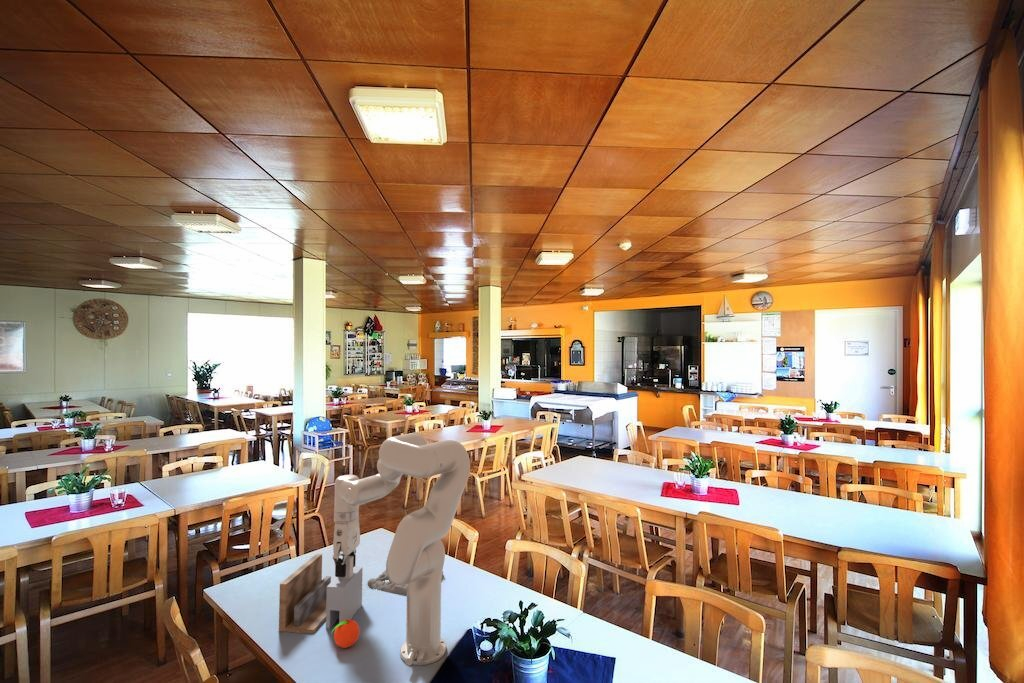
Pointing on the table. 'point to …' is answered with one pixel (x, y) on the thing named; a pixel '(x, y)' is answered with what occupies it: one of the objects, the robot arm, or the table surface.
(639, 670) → the table surface
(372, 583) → the wall plaque
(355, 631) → the clementine
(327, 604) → the white box with handle
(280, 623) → the wooden stand
